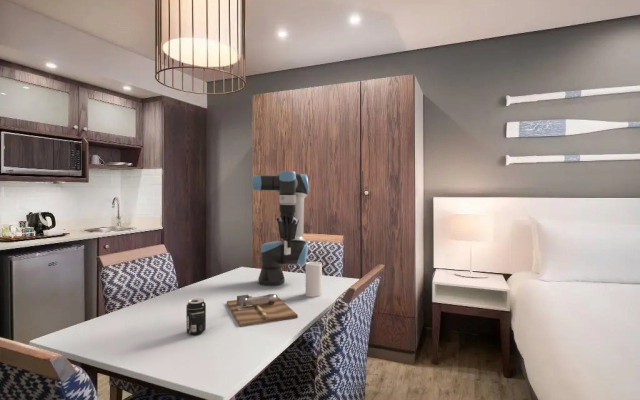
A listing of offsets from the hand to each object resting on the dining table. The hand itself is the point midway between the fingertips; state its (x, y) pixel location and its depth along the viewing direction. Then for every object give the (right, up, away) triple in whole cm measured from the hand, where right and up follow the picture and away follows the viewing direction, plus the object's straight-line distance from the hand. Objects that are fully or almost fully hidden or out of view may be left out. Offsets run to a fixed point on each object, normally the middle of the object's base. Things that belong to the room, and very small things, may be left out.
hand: (287, 254), depth 164 cm
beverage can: (-31, -24, -34) cm, 52 cm away
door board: (-11, -23, -9) cm, 28 cm away
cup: (+12, -23, +14) cm, 30 cm away
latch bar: (-12, -21, -7) cm, 25 cm away
